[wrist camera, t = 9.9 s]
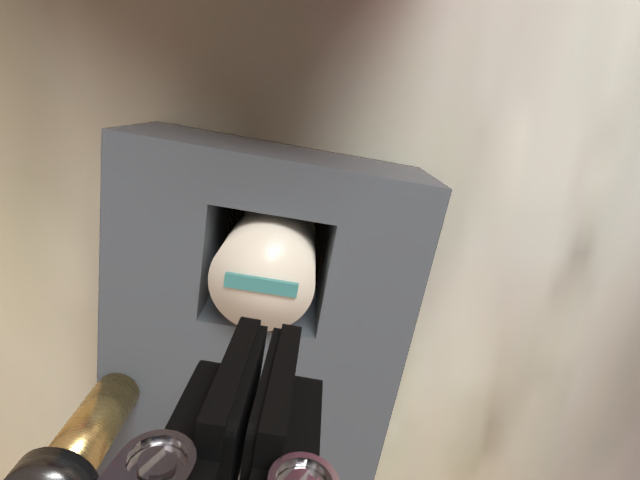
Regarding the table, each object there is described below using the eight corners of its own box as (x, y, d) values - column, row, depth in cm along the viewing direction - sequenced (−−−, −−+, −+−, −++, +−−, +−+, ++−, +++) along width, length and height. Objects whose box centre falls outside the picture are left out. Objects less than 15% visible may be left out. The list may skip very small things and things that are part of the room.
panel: (419, 167, 23) (452, 189, 18) (337, 504, 31) (342, 597, 25) (156, 121, 22) (101, 128, 17) (136, 478, 30) (93, 568, 24)
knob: (322, 204, 23) (323, 244, 17) (308, 278, 25) (305, 340, 18) (241, 191, 23) (212, 225, 17) (232, 266, 25) (202, 325, 18)
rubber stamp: (151, 368, 20) (82, 480, 14) (149, 420, 21) (83, 546, 15) (85, 359, 20) (-12, 469, 14) (86, 412, 21) (-5, 537, 15)
